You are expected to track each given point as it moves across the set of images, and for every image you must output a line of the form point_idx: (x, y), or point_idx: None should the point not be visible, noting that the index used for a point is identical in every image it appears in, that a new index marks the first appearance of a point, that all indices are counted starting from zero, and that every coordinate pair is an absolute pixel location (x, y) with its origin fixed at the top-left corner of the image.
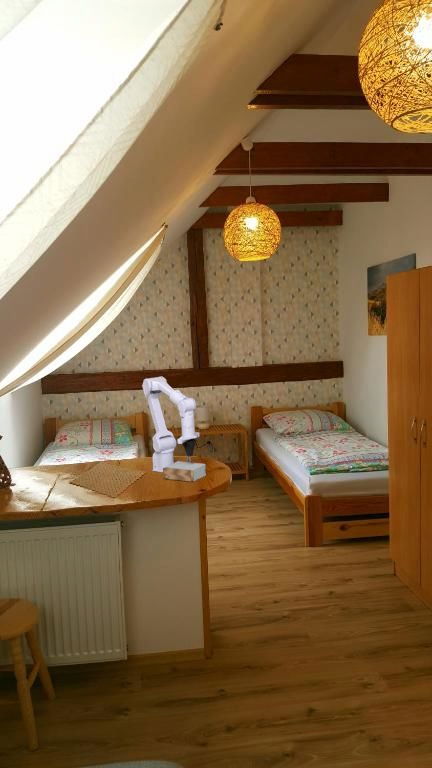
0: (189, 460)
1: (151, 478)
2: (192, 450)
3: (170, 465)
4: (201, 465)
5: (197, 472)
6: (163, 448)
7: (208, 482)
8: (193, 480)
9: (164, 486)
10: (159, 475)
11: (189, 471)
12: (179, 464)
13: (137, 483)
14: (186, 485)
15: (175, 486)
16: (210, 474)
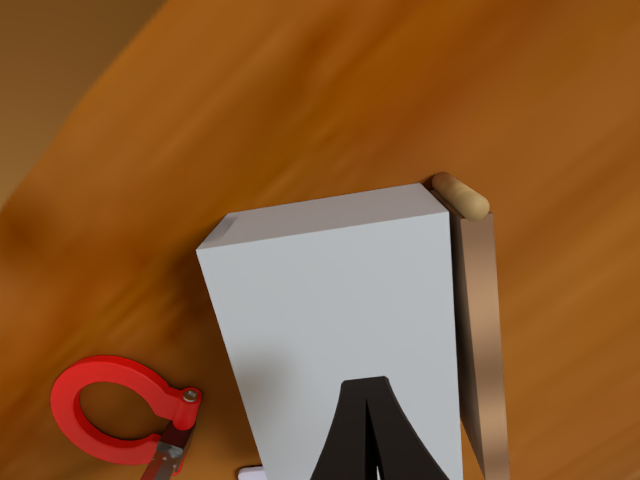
0: (158, 468)
1: None
2: (366, 443)
3: None
4: (258, 252)
5: (359, 209)
6: None
7: (386, 33)
8: (440, 174)
9: (627, 292)
10: None
11: (490, 224)
12: None
13: (618, 470)
14: (545, 157)
15: (601, 220)
16: (193, 190)
